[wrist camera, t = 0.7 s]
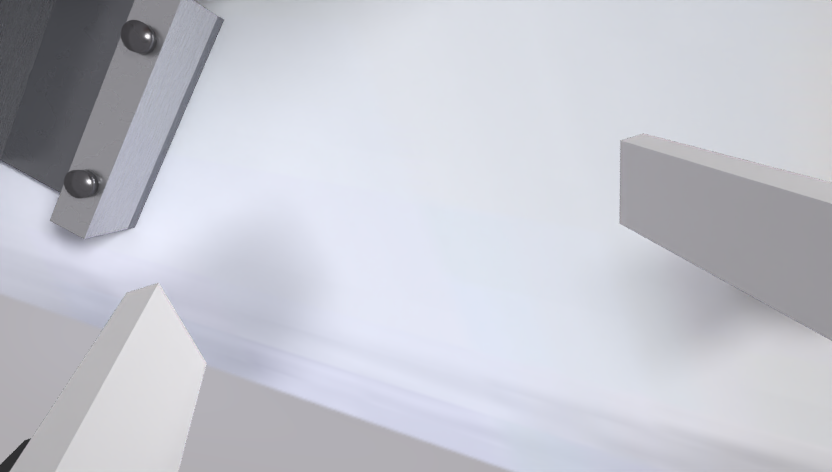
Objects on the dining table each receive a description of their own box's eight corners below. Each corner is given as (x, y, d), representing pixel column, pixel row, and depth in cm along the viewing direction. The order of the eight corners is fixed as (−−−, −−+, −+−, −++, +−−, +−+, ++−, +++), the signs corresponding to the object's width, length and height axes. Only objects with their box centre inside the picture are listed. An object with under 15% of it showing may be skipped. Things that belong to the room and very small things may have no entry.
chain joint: (55, -78, 29) (-30, -130, 24) (223, 19, 30) (177, -10, 24) (-20, 143, 32) (-109, 140, 27) (134, 227, 33) (76, 240, 28)
